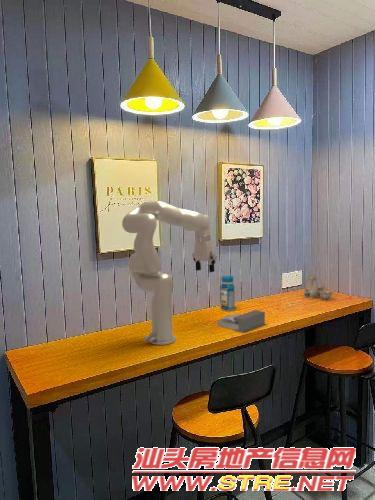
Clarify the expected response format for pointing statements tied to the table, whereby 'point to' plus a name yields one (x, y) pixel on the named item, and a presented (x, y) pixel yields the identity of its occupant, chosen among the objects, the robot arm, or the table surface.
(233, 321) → the stone block
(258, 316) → the steel lip bracket
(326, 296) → the chinaware
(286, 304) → the table surface
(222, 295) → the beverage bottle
